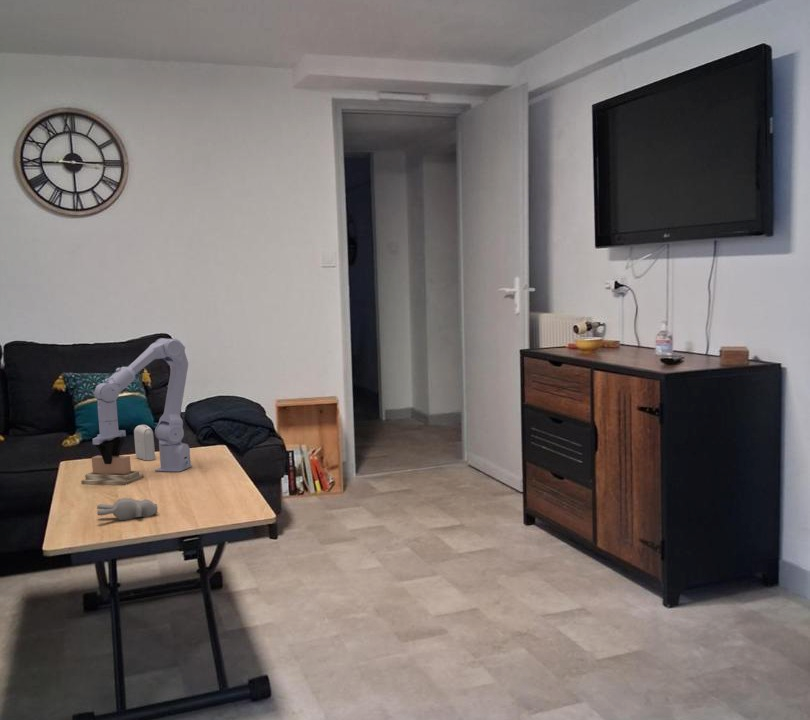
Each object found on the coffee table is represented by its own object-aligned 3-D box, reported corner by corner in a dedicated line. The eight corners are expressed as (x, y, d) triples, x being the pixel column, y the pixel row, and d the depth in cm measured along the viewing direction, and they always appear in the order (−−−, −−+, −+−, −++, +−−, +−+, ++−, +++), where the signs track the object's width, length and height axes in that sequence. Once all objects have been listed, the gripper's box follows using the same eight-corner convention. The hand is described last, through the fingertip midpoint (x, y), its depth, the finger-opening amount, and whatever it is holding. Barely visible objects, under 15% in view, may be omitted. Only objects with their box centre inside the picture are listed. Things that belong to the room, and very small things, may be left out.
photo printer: (134, 457, 297) (131, 424, 296) (145, 455, 299) (143, 422, 298) (145, 461, 289) (142, 427, 288) (156, 459, 292) (154, 425, 290)
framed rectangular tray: (143, 477, 264) (143, 469, 263) (125, 485, 254) (124, 477, 254) (101, 476, 268) (100, 468, 268) (81, 483, 258) (80, 476, 258)
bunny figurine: (158, 503, 214) (97, 504, 209) (157, 522, 215) (96, 524, 209) (155, 495, 223) (97, 496, 218) (155, 513, 223) (96, 515, 218)
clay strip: (131, 471, 261) (129, 456, 260) (125, 473, 258) (124, 458, 257) (98, 470, 264) (97, 455, 263) (92, 472, 261) (91, 457, 261)
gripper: (111, 416, 267) (114, 457, 269) (82, 424, 253) (86, 467, 255) (130, 416, 265) (133, 457, 267) (102, 424, 251) (105, 467, 253)
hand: (111, 462), depth 261 cm, fingers closed on clay strip, 3 cm apart
